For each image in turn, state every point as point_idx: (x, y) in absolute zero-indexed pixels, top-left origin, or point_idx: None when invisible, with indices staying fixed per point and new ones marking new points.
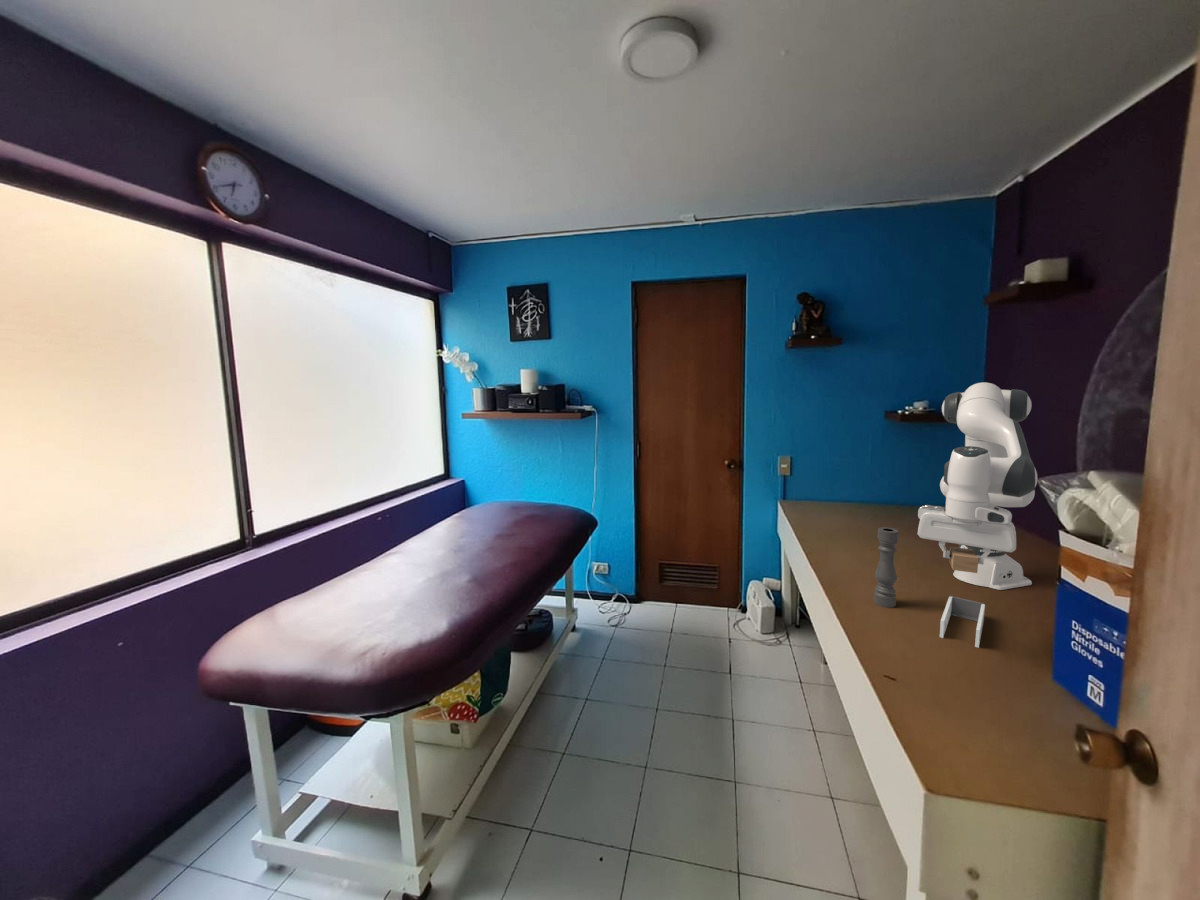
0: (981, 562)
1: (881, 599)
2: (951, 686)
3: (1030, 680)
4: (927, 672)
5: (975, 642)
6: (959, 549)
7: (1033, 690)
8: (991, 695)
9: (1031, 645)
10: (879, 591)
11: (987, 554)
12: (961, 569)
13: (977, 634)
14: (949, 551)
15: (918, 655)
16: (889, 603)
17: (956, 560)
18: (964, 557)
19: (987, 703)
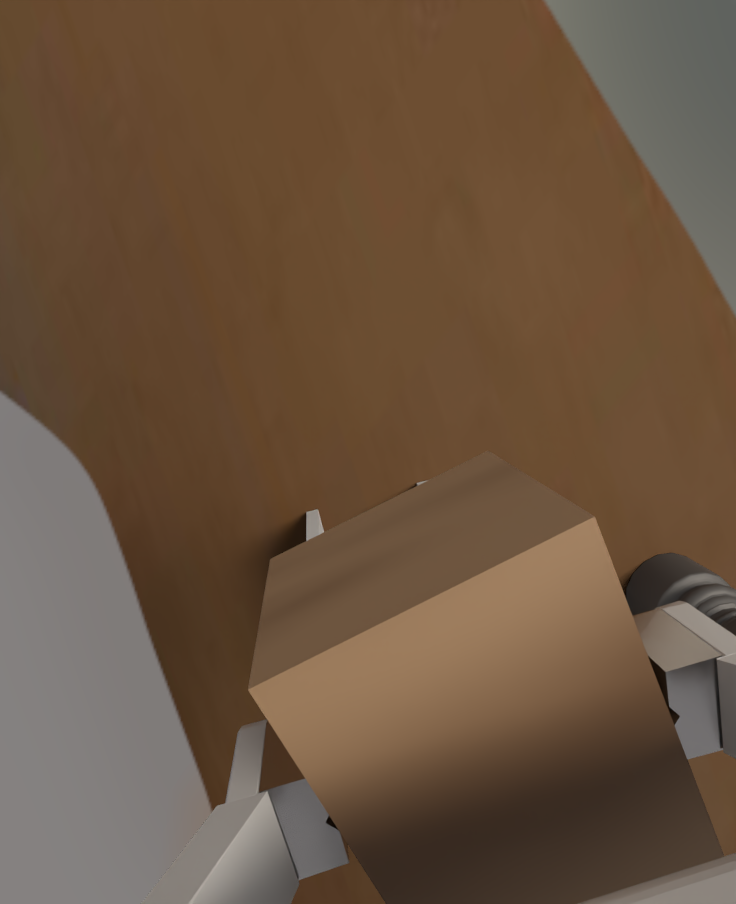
0: (258, 732)
1: (686, 567)
2: (258, 112)
3: (106, 412)
4: (355, 147)
5: (317, 515)
6: (599, 867)
7: (73, 344)
8: (144, 172)
9: (200, 678)
10: (722, 585)
11: (152, 900)
12: (415, 497)
13: (313, 530)
14: (684, 721)
15: (427, 261)
16: (650, 576)
17: (510, 503)
18: (436, 583)
19: (129, 93)
